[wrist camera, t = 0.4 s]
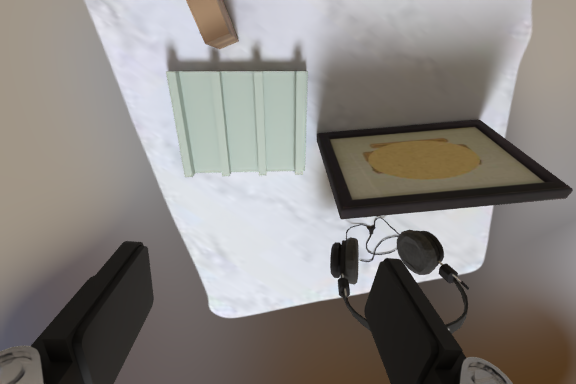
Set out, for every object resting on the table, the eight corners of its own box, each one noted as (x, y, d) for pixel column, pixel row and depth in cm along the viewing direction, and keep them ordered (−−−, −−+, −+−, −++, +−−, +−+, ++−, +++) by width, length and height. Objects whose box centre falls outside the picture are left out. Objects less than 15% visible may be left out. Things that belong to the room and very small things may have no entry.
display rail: (169, 71, 33) (161, 71, 30) (306, 71, 34) (309, 71, 31) (186, 170, 38) (181, 177, 36) (304, 167, 39) (306, 174, 37)
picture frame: (478, 118, 38) (587, 164, 25) (461, 174, 42) (544, 237, 30) (316, 132, 37) (342, 186, 24) (317, 187, 42) (339, 257, 29)
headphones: (322, 267, 47) (353, 390, 29) (317, 213, 43) (351, 319, 25) (405, 256, 47) (488, 372, 29) (410, 200, 43) (512, 298, 25)
